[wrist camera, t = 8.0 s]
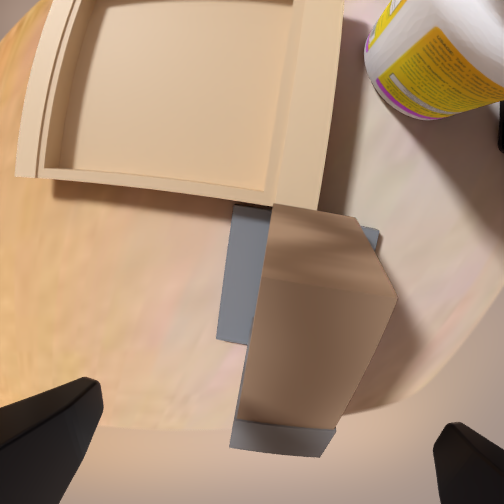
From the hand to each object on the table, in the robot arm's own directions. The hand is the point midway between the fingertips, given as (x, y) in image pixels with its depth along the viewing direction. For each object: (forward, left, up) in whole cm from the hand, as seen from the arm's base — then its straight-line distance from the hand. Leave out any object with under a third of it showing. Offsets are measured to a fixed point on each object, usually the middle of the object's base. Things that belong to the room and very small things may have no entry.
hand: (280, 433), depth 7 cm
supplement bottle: (-6, -14, -12) cm, 19 cm away
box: (-1, 0, -11) cm, 11 cm away
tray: (+8, -11, -12) cm, 18 cm away
